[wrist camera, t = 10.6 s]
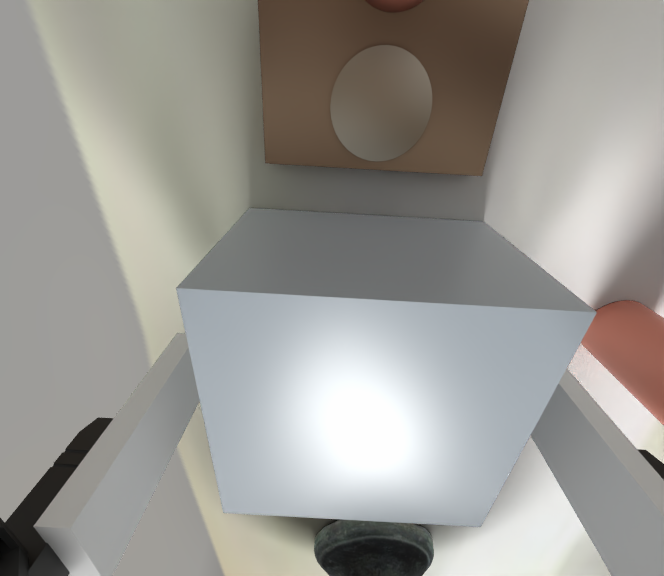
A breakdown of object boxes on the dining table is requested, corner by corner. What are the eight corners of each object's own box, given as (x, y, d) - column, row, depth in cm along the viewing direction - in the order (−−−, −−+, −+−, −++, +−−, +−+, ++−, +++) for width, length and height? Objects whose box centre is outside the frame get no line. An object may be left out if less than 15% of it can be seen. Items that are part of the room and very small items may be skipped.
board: (472, 171, 13) (562, 215, 8) (270, 159, 13) (221, 195, 8) (548, -133, 9) (843, -475, 4) (258, -152, 9) (140, -521, 4)
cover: (435, 389, 19) (480, 527, 13) (262, 380, 19) (223, 512, 13) (483, 221, 14) (597, 312, 8) (249, 207, 14) (176, 288, 8)
